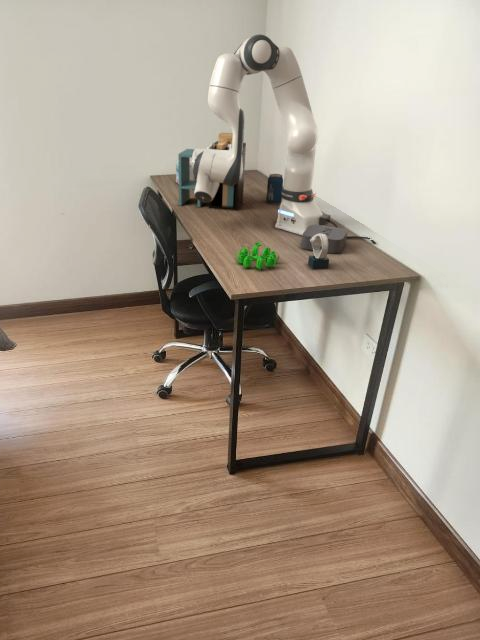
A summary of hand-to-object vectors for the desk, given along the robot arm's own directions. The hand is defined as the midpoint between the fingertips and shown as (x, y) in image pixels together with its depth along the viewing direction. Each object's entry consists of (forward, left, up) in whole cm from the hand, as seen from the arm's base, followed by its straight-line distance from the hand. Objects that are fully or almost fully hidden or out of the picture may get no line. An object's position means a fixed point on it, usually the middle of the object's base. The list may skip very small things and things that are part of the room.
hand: (221, 144), depth 220 cm
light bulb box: (+51, -13, -28) cm, 60 cm away
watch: (-70, +8, -28) cm, 76 cm away
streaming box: (-56, -8, -28) cm, 63 cm away
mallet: (+3, -3, -1) cm, 5 cm away
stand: (+19, +2, -27) cm, 33 cm away
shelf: (+7, -8, -27) cm, 29 cm away
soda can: (0, -30, -28) cm, 41 cm away
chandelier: (-57, +24, -28) cm, 67 cm away
